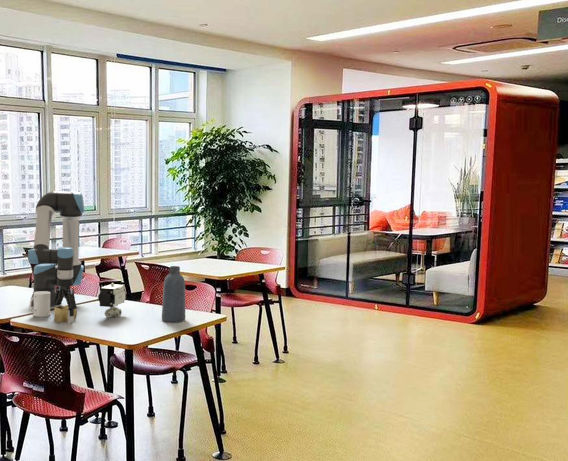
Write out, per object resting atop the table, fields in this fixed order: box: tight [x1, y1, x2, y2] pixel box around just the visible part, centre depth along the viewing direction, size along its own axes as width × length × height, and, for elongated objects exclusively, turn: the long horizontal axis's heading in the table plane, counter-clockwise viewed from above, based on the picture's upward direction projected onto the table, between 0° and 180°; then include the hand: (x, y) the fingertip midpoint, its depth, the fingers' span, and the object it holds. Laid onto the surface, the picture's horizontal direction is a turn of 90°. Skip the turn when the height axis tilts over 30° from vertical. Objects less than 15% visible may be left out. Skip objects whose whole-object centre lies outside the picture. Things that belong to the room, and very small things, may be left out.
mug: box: [29, 291, 51, 318], centre depth 321 cm, size 12×8×12 cm
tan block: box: [53, 304, 78, 323], centre depth 313 cm, size 6×10×7 cm, turn 136°
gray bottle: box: [161, 265, 186, 323], centre depth 322 cm, size 12×12×28 cm
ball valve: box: [97, 282, 127, 319], centre depth 326 cm, size 18×8×18 cm, turn 168°
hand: (64, 320), depth 313 cm, fingers open, 12 cm apart
